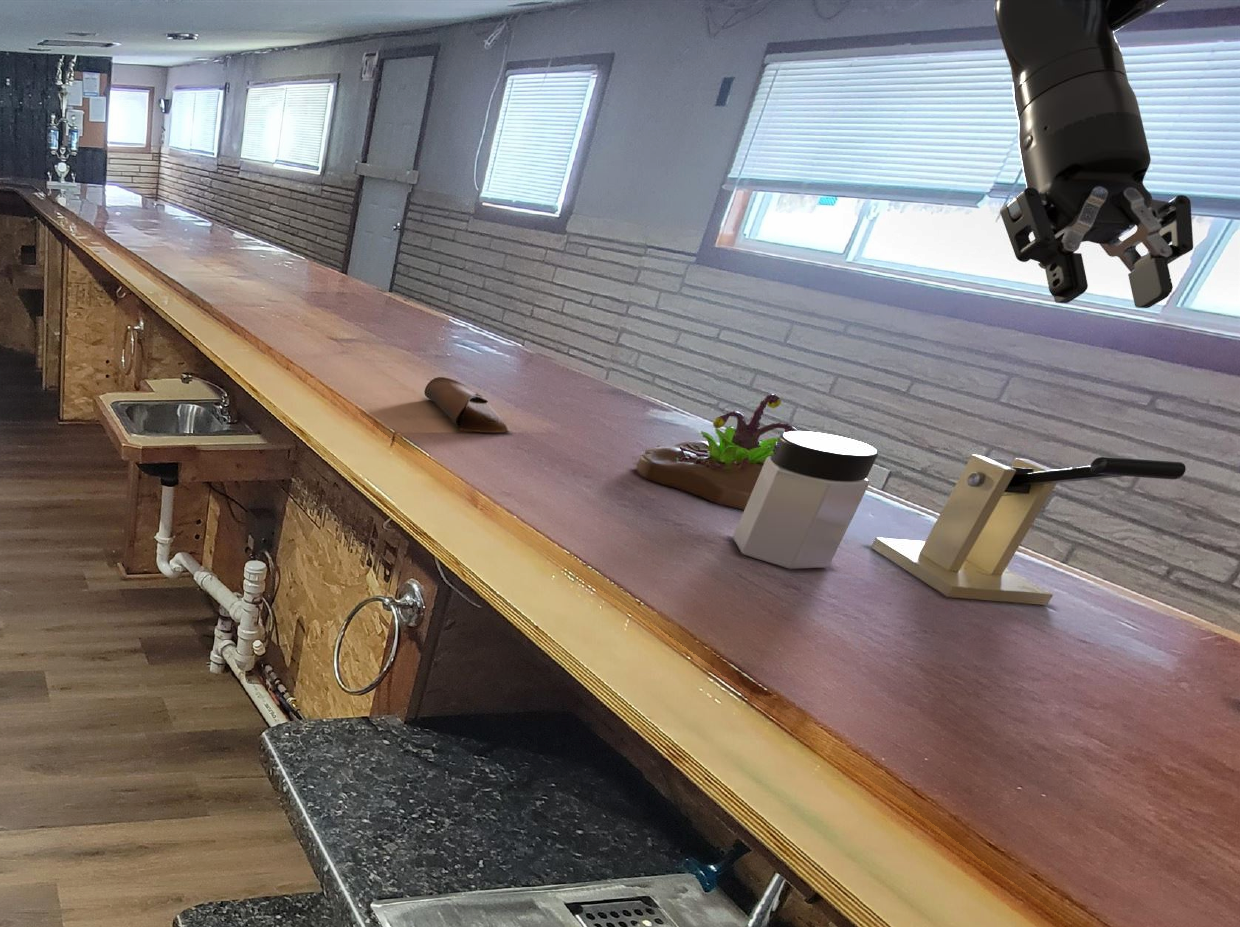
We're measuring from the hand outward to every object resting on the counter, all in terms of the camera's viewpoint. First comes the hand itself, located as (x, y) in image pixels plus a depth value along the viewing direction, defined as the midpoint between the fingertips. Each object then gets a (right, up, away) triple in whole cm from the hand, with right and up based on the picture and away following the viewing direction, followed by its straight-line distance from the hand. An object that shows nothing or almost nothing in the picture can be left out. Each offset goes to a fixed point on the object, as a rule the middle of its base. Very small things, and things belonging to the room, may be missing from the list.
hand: (1112, 299), depth 78 cm
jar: (-17, -21, +17) cm, 31 cm away
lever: (-1, -16, +3) cm, 16 cm away
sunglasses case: (-33, +4, +59) cm, 68 cm away
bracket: (-1, -23, +14) cm, 27 cm away
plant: (-8, -10, +36) cm, 38 cm away
